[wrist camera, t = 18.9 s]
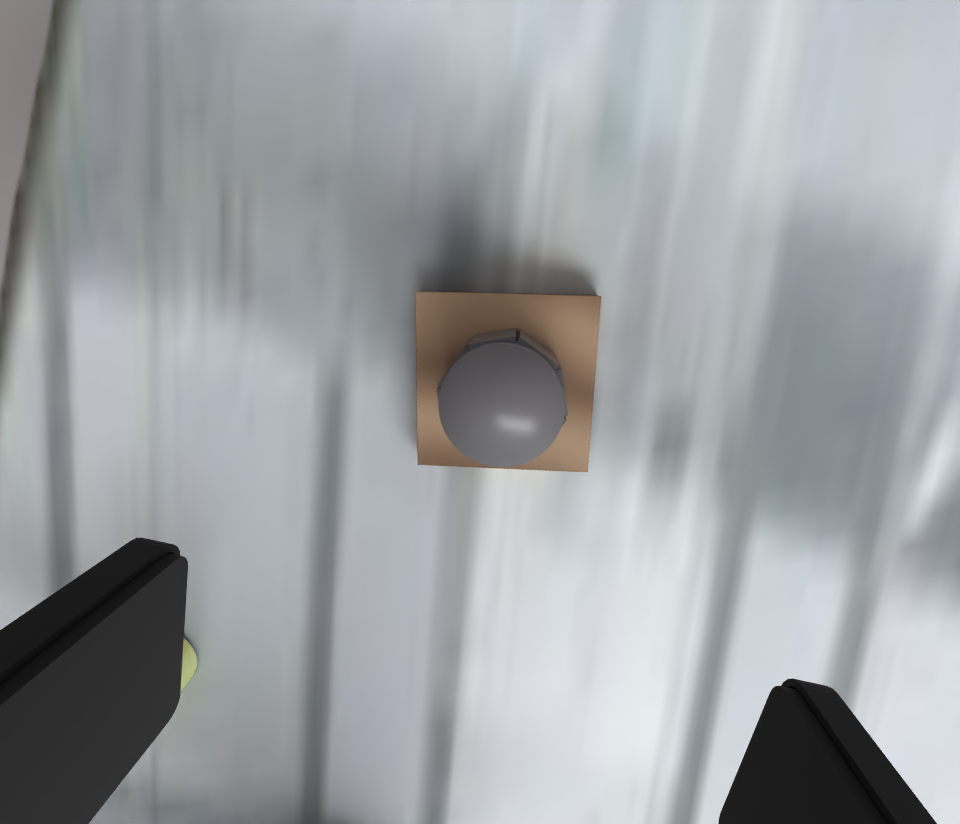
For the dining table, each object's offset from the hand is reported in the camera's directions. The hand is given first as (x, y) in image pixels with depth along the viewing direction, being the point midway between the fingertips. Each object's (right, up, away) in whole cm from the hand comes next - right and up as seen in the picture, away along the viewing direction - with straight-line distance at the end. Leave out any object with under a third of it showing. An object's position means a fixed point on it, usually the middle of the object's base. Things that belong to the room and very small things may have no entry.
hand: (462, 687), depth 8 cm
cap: (+2, +6, +22) cm, 22 cm away
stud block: (+2, +6, +23) cm, 24 cm away
